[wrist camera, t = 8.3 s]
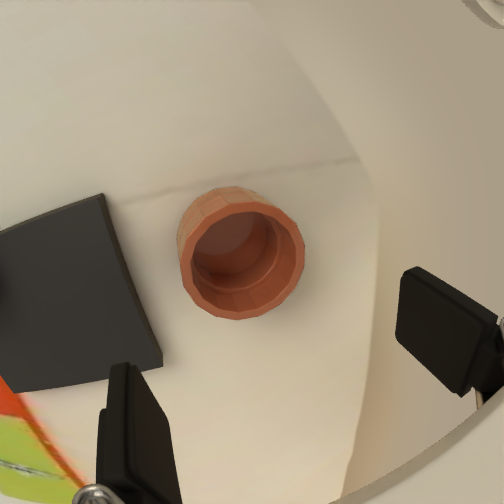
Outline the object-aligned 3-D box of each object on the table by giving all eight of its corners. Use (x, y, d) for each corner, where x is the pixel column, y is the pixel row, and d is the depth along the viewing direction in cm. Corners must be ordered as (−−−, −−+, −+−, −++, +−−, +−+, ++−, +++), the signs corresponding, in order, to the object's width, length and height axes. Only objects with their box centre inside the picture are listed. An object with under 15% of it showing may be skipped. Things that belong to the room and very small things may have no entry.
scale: (-57, 247, 13) (-79, 263, 10) (99, 180, 16) (87, 189, 13) (16, 383, 18) (7, 407, 16) (162, 354, 21) (164, 383, 18)
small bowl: (194, 173, 17) (203, 185, 13) (289, 202, 19) (322, 222, 15) (165, 270, 19) (167, 308, 15) (256, 289, 21) (278, 326, 17)
